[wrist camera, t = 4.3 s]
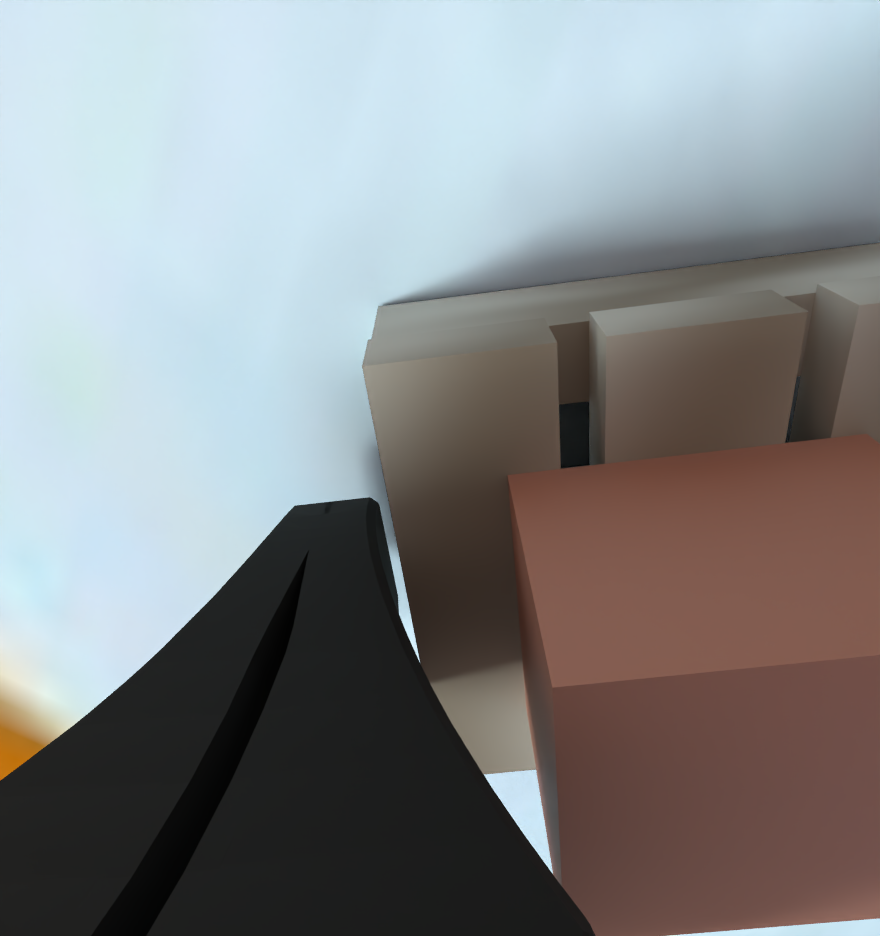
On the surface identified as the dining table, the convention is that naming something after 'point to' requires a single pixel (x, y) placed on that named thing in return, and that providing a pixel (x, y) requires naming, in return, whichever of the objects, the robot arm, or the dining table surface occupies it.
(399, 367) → the pallet
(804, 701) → the salmon pink block
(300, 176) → the dining table surface
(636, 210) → the dining table surface
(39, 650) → the dining table surface
